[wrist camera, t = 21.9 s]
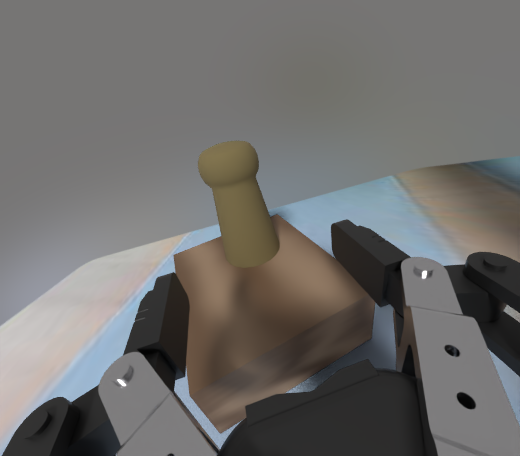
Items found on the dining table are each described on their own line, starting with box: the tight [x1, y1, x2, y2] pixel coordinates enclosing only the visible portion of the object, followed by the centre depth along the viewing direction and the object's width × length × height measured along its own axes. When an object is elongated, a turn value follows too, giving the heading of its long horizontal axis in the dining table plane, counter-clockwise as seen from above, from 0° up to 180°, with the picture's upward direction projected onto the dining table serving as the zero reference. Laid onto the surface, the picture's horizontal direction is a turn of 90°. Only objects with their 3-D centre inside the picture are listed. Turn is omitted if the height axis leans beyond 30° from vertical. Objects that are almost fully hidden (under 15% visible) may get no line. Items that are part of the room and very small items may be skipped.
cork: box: [198, 141, 280, 268], centre depth 21 cm, size 6×6×11 cm
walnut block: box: [174, 215, 375, 434], centre depth 22 cm, size 14×16×6 cm
